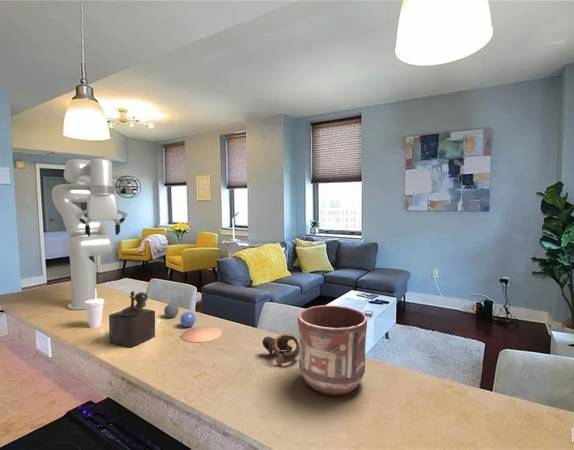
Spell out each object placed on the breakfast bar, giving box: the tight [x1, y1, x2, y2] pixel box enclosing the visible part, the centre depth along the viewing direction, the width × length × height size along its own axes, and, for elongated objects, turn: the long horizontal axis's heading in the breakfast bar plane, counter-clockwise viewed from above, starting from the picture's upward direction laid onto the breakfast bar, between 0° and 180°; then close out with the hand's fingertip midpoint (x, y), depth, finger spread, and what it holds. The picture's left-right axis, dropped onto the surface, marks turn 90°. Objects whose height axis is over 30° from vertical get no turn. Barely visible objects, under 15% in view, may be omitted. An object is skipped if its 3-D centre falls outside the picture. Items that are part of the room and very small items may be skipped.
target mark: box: [180, 326, 223, 343], centre depth 115 cm, size 14×14×1 cm
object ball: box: [179, 311, 197, 328], centre depth 122 cm, size 6×6×6 cm
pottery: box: [297, 304, 368, 397], centre depth 84 cm, size 18×18×18 cm
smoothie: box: [85, 288, 105, 329], centre depth 121 cm, size 6×6×14 cm
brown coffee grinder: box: [108, 290, 156, 348], centre depth 109 cm, size 16×11×18 cm
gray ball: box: [163, 303, 180, 319], centre depth 132 cm, size 6×6×6 cm
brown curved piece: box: [261, 333, 300, 367], centre depth 98 cm, size 12×10×8 cm
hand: (103, 235), depth 127 cm, fingers open, 9 cm apart
